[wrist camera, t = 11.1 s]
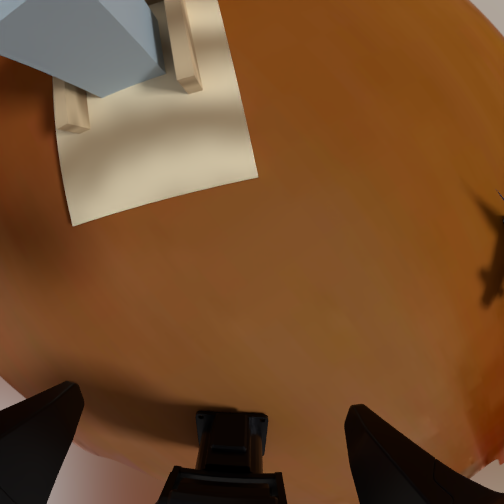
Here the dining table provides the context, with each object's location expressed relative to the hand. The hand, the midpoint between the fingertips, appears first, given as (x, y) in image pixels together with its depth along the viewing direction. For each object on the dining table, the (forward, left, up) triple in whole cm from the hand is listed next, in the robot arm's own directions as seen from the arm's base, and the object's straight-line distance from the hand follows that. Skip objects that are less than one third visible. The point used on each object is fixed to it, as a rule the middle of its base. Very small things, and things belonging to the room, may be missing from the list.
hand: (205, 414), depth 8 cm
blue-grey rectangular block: (+16, +8, -12) cm, 22 cm away
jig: (+16, +8, -13) cm, 22 cm away
